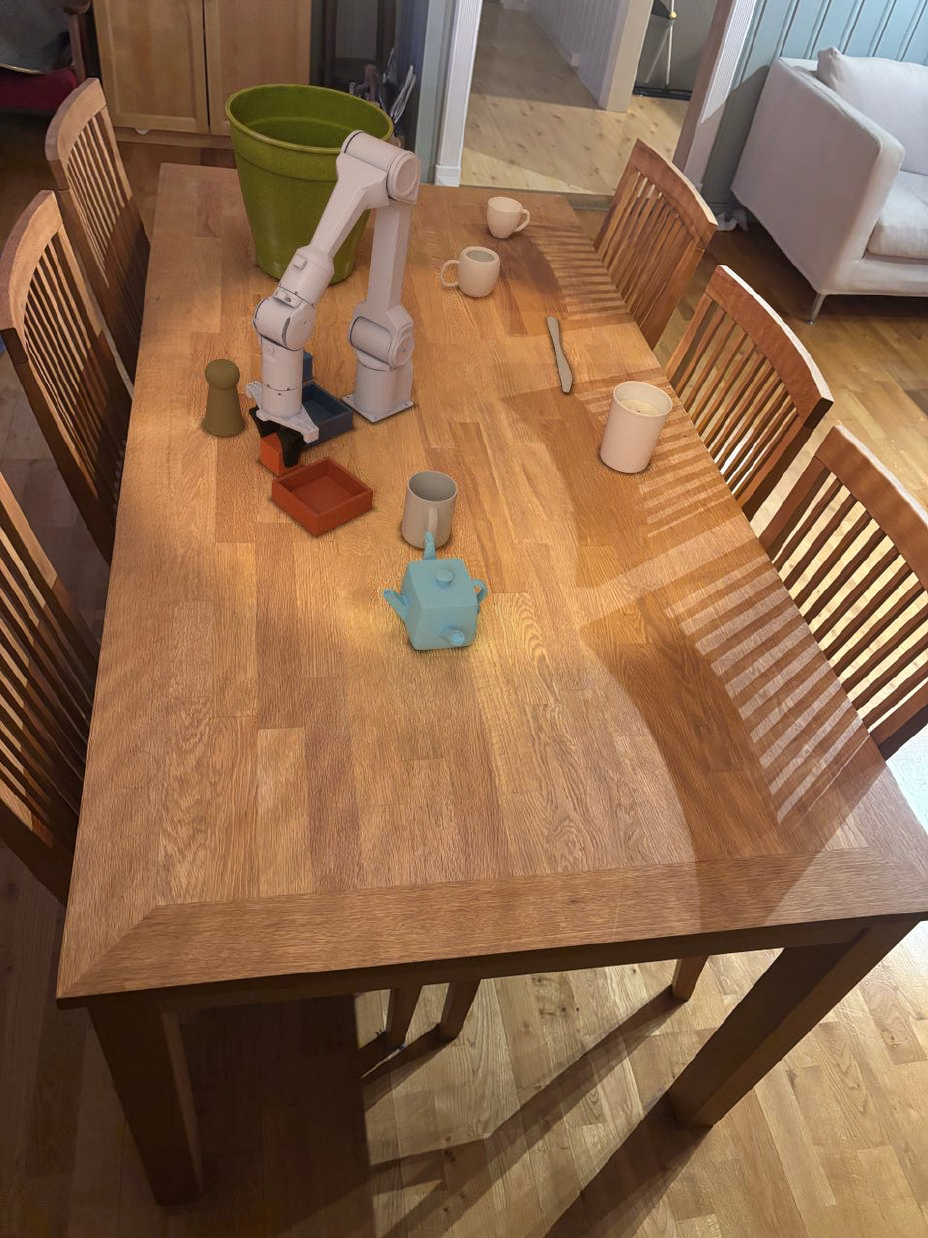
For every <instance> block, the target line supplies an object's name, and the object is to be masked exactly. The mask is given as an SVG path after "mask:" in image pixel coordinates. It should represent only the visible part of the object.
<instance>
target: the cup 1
mask: <svg viewBox="0 0 928 1238" xmlns="http://www.w3.org/2000/svg"><path fill="white" fill-rule="evenodd" d="M405 489H406V490H405V497H404V502H403V503H404V505H403V511H402V519H401V526H400V527H401V528H400V531H401V535H402V536H403V538H404V540H405V541H406V542H407V543H408V544H409V545H411V546H413V547H415V548H418V549H422V550H425V533H426V532H430V533H431V534H432V536H433V538H434V544H435V549H438V548H439V547H442V546H444V545H445V544H446V543H447V542H448V540H449V538H450V535H451V531H452V526H453V525H452V524H453V520H454V519H453V518H454V513H455V508H456V503H457V499H458V498H457V496H458V490H459V487H458V484H457V482H456V481H455V479H453V478H452V477H451V476H449V475H448V474H446V473H443V472H441V471H437V470H429V469H428V470H426V469H425V470H420V471H417V472H414V473H412V474H411V475H410V476H409V477H408V479H407V482H406V488H405Z"/></svg>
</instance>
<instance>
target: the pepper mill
mask: <svg viewBox="0 0 928 1238" xmlns="http://www.w3.org/2000/svg"><path fill="white" fill-rule="evenodd" d="M240 372H241V371H240V368H239V366H238V365H237V364H236V363H235V362H234V361H232V360H229V359H225V358H217V359H213V360H211V361H209V362H208V363H207V365H206V366H205V368H204V378H205V381H206V383H207V384H208V388H207V397H206V404H205V405H206V406H205V414H204V415H205V416H204V423H203V425H204V429H206V431H207V432H208V433H210V434H212V435H215V436H218V437H231V436H235V435H237V434H239V433H241V432H242V431H243V429H244V421H243V415H242V410H241V409H242V408H241V403H240V397H239V391H238V384H239V382H240V378H241V373H240Z"/></svg>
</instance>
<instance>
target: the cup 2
mask: <svg viewBox="0 0 928 1238" xmlns="http://www.w3.org/2000/svg"><path fill="white" fill-rule="evenodd" d="M523 214H525V220H524V221H523V222H522V223H521V224H520V221H521V217H522V216H523ZM485 219H486V223H487V227H488V230H489V231H490V234H491V235H492V236H493V237H495V238H497V239H508V238H509V237H510V236H511V235H512V234H513V233H517V232H520V231H522V230H523V229H525V228H526V227H527V226H528V225H529V223H530V221H531V213H530V211H529V210H528V209H525V208H523V205H522V204H521V202H519V201H517V200H516V199H514V198H511V197H507V196H492V197H491V198H488V201H487V206H486V217H485ZM519 224H520V225H519Z"/></svg>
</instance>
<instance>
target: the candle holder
mask: <svg viewBox="0 0 928 1238" xmlns="http://www.w3.org/2000/svg"><path fill="white" fill-rule="evenodd" d="M673 407H674V403H673V400H672V398H671V396H670V395H669V394H668V393H667V392H666V391H665V390H663V389H662V388H660V387H658V386H656V385H654V384H652V383H648V382H643V381H640V380H639V381H637V380H630V381H628V380H627V381H623V382H620V383H619V384H616V385H615V387H614V388H613V389H612V396H611V401H610V405H609V409H608V414H607V418H606V422H605V426H604V430H603V435H602V440H601V444H600V448H599V455H600V456H599V457H600V459H601V461H602V462H603V463H604V464H605V465H606V466H608V467H609V468H611V469H613V470H615V471H618V472H621V473H626V474H636V473H639V472H642V471H644V470H645V469H646V468H647V466H648V464H649V463H650V460H651V458H652V456H653V453H654V451H655V449H656V447H657V444H658V443H659V439H660V437H661V435H662V432H663V430H664V427H665V426H666V423H667V420H668V418H669V416H670V414H671V412H672V410H673Z"/></svg>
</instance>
